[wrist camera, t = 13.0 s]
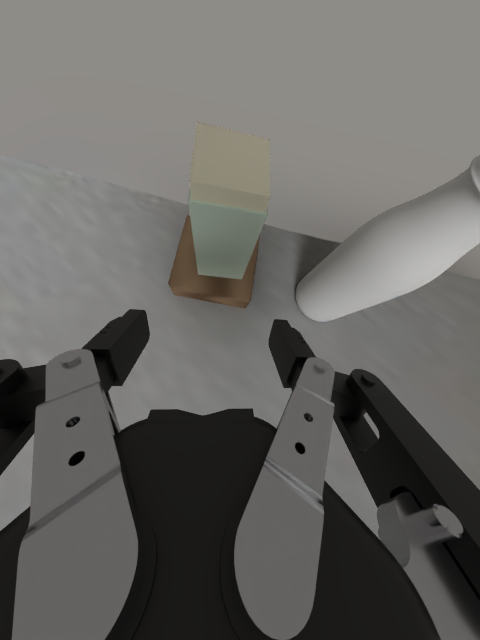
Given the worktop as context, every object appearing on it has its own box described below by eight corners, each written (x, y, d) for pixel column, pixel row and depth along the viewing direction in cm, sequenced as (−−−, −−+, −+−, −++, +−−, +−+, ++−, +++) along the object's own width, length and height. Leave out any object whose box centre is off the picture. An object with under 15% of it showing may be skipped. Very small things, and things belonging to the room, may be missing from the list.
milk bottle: (311, 331, 25) (623, 237, 6) (284, 287, 26) (479, 89, 7) (347, 309, 27) (673, 185, 8) (321, 269, 28) (554, 74, 9)
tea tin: (198, 274, 21) (185, 182, 10) (201, 236, 22) (194, 118, 11) (241, 279, 22) (273, 199, 11) (242, 242, 23) (272, 138, 12)
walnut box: (175, 296, 24) (168, 283, 20) (190, 236, 26) (187, 215, 22) (244, 309, 25) (250, 299, 21) (253, 251, 28) (260, 233, 24)
